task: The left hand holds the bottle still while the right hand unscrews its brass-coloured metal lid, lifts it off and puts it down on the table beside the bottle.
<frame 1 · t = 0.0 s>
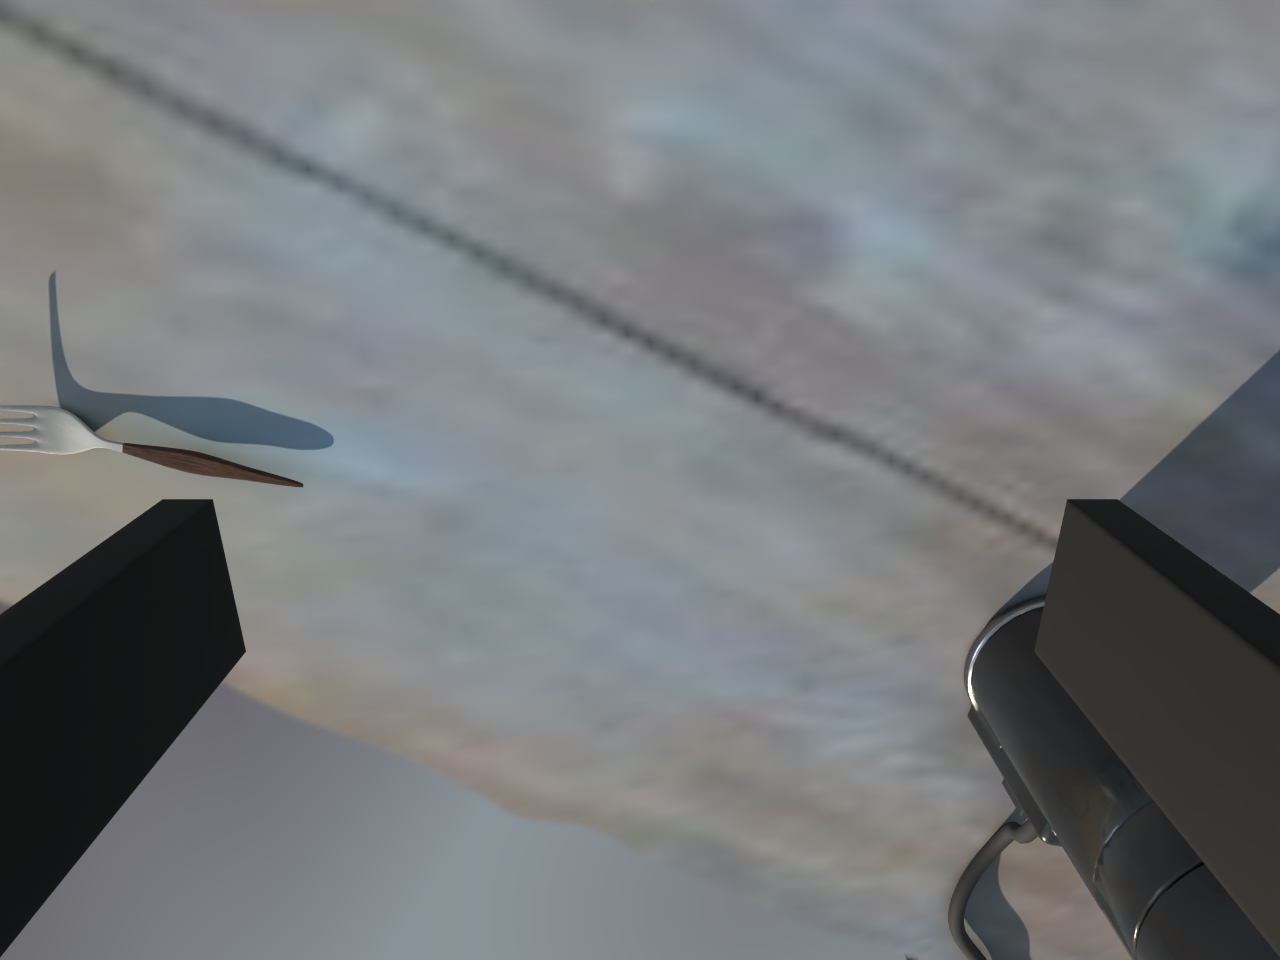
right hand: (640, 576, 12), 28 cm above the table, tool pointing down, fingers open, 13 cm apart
fork: (154, 448, 41), on the table
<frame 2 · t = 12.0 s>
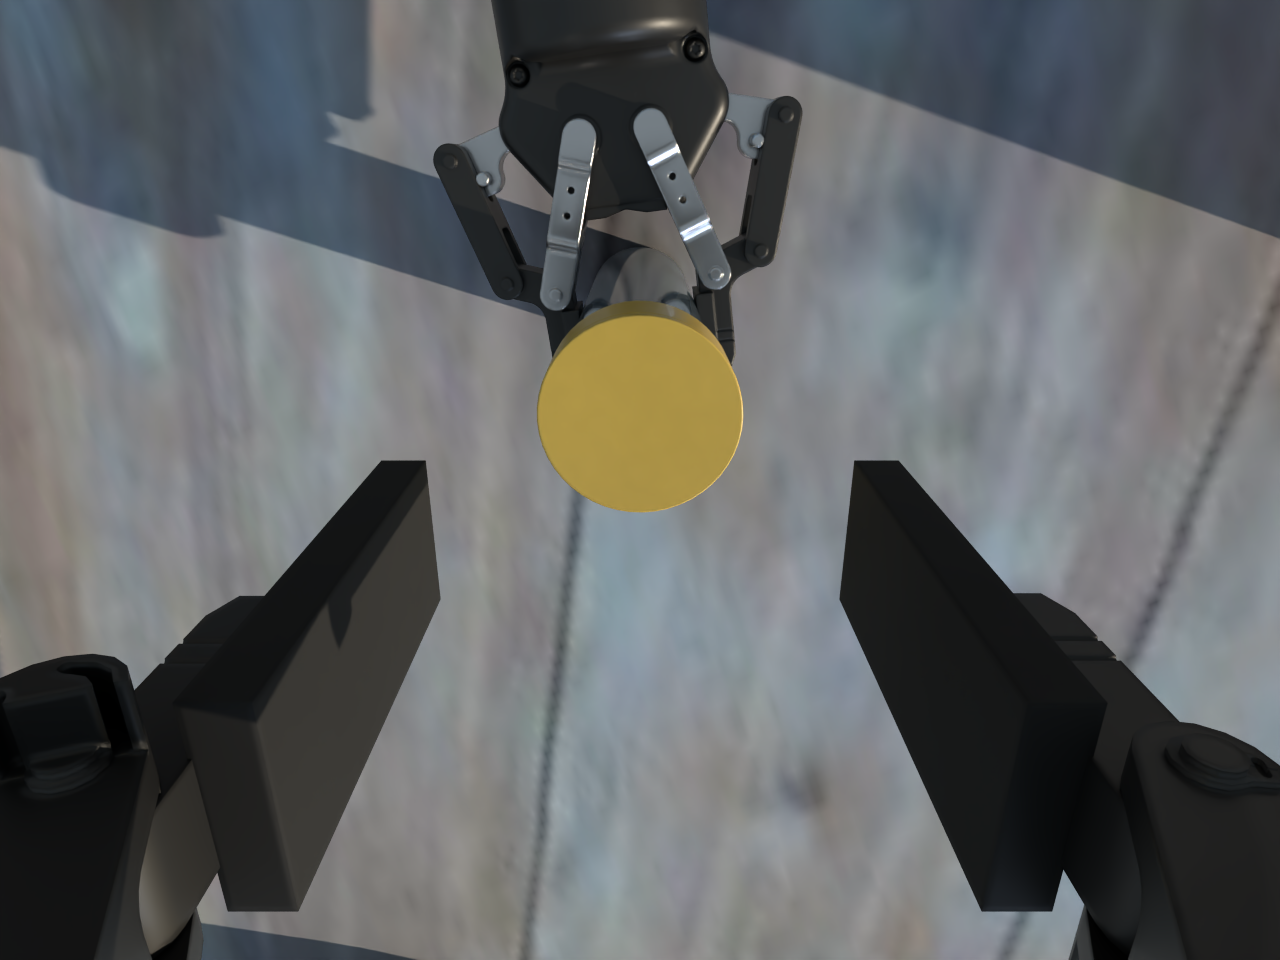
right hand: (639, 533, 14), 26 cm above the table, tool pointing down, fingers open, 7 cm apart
left hand: (648, 384, 33), fingers closed on bottle, 4 cm apart
bottle: (640, 296, 38), on the table, touching left hand
lid: (640, 414, 21), point 19 cm above the table, screwed on, not yet turned
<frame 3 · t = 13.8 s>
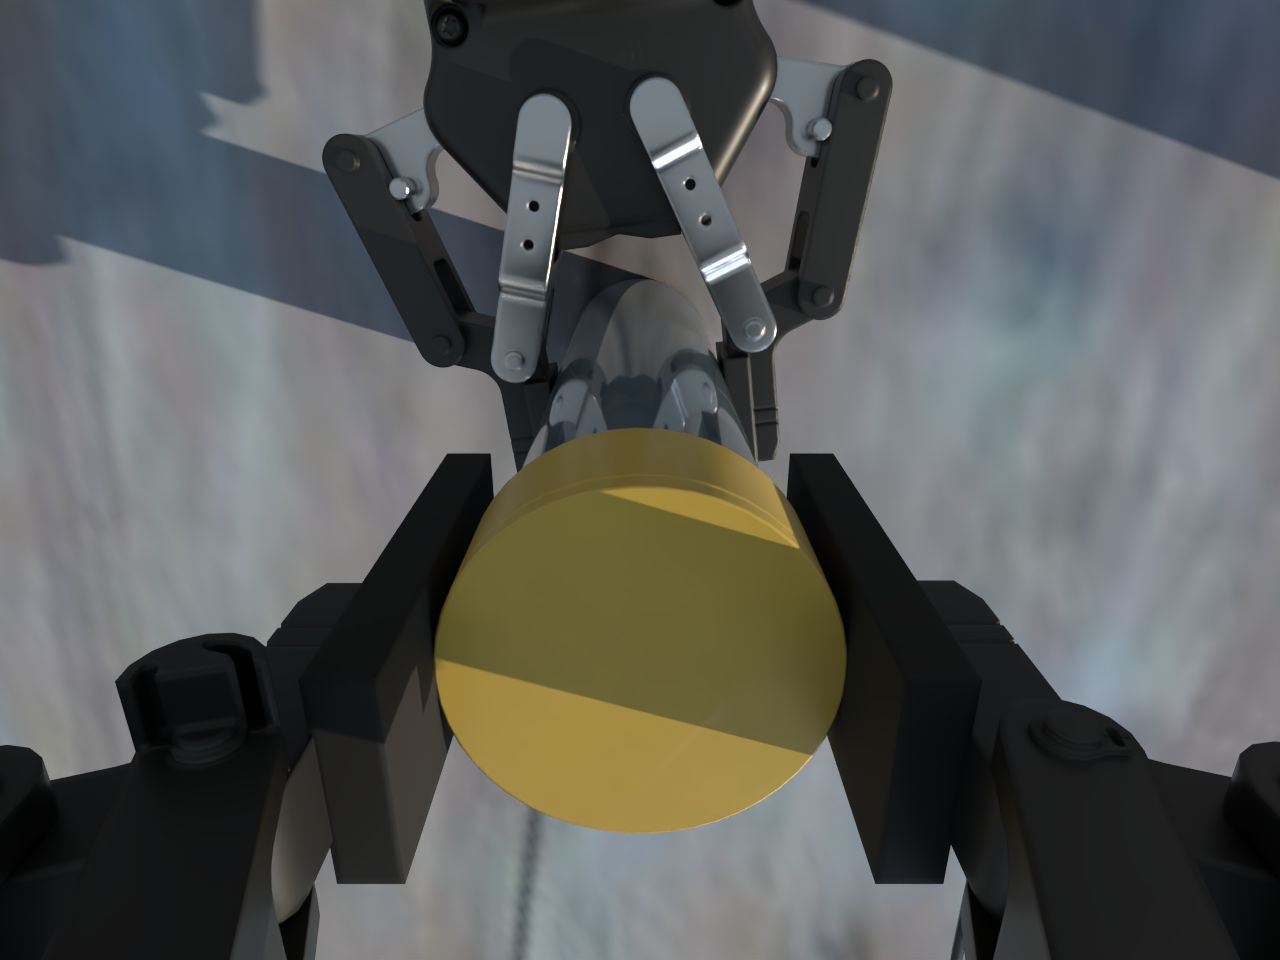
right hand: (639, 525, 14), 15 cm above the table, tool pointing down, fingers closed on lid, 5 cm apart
left hand: (652, 481, 23), fingers closed on bottle, 4 cm apart
bottle: (640, 345, 28), on the table, touching left hand
lid: (640, 661, 10), point 19 cm above the table, screwed on, not yet turned, touching right hand
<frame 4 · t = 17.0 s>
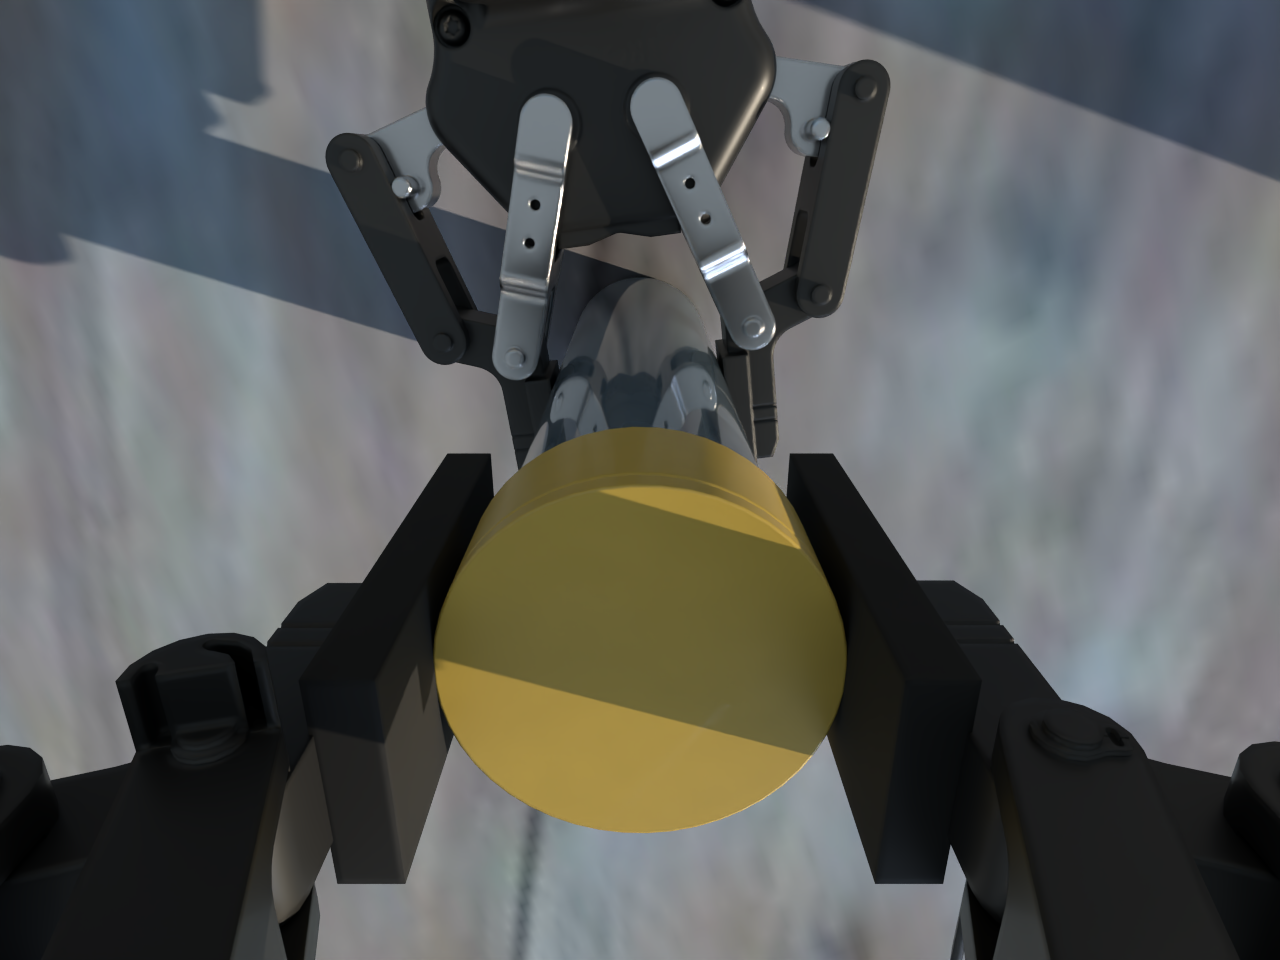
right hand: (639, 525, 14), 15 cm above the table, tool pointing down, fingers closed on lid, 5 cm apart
left hand: (652, 478, 23), fingers closed on bottle, 4 cm apart
bottle: (640, 343, 28), on the table, touching left hand
lid: (640, 660, 10), point 19 cm above the table, turned 76° so far, risen 0.2 cm, still on its thread, touching right hand
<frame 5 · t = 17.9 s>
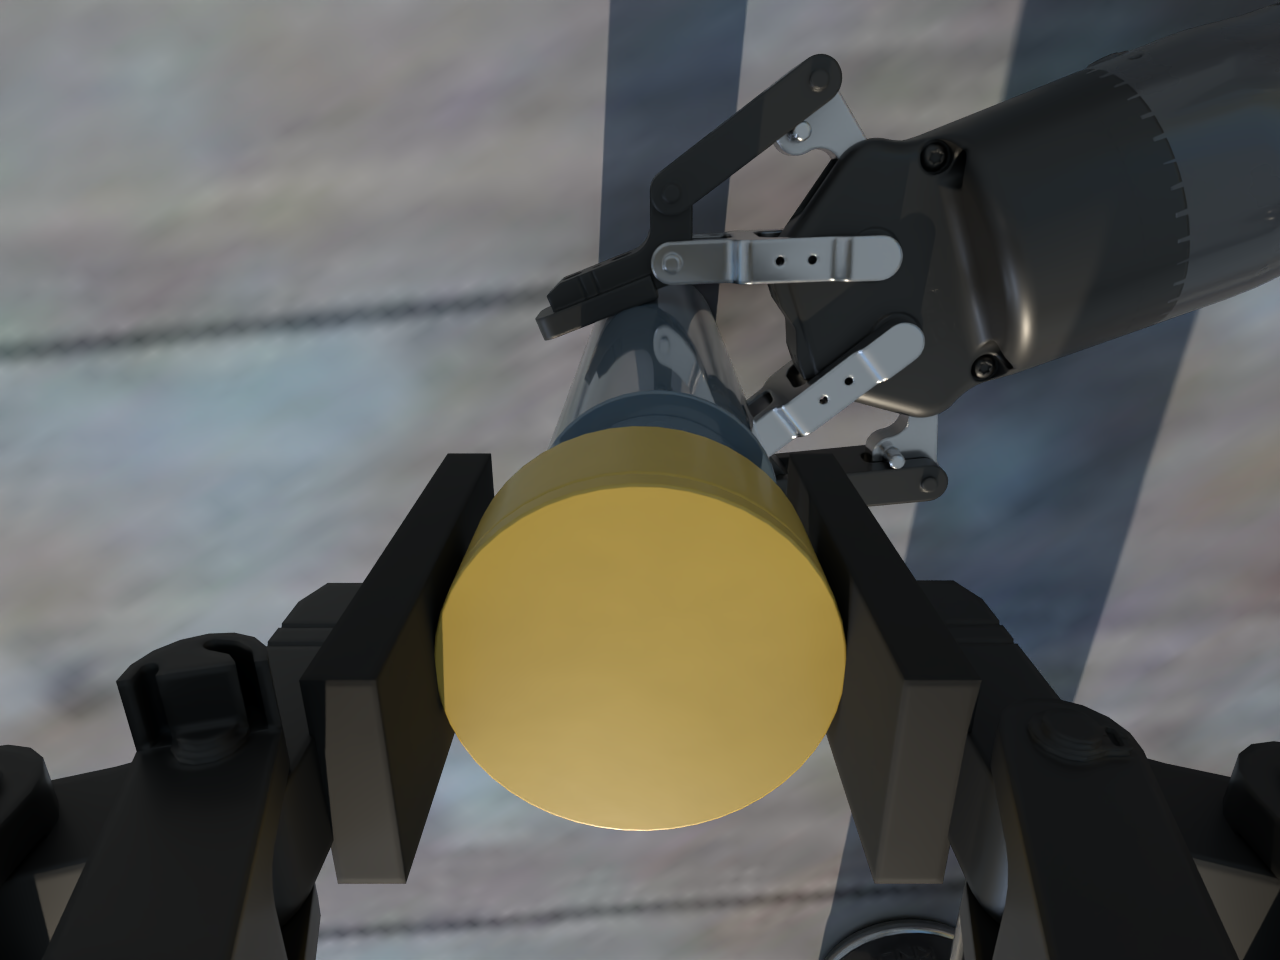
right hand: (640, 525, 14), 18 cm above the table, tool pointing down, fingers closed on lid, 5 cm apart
left hand: (578, 402, 25), fingers closed on bottle, 4 cm apart
bottle: (654, 332, 31), on the table, touching left hand
lid: (640, 658, 10), point 22 cm above the table, off its thread, touching right hand
when the right hand's fingers open (0 cm above the table, at t = 22.3 s): lid drops 2 cm, point 2 cm above the table.
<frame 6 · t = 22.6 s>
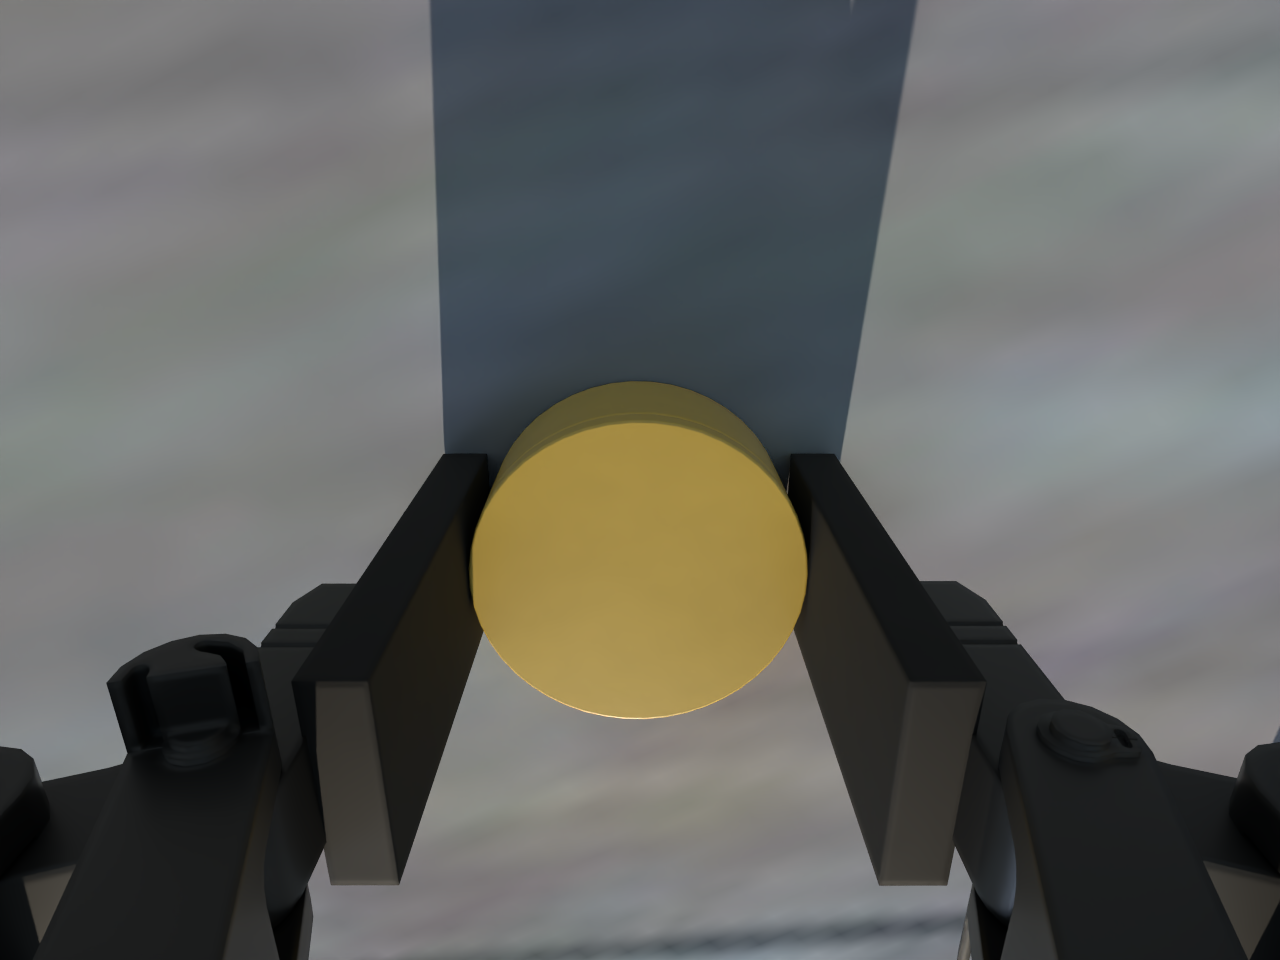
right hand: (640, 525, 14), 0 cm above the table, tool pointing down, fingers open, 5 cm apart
lid: (638, 571, 13), point 2 cm above the table, off its thread
when the left hand's fingers open (6 cm above the table, at t = 23.9 s): bottle stays where it is, on the table.
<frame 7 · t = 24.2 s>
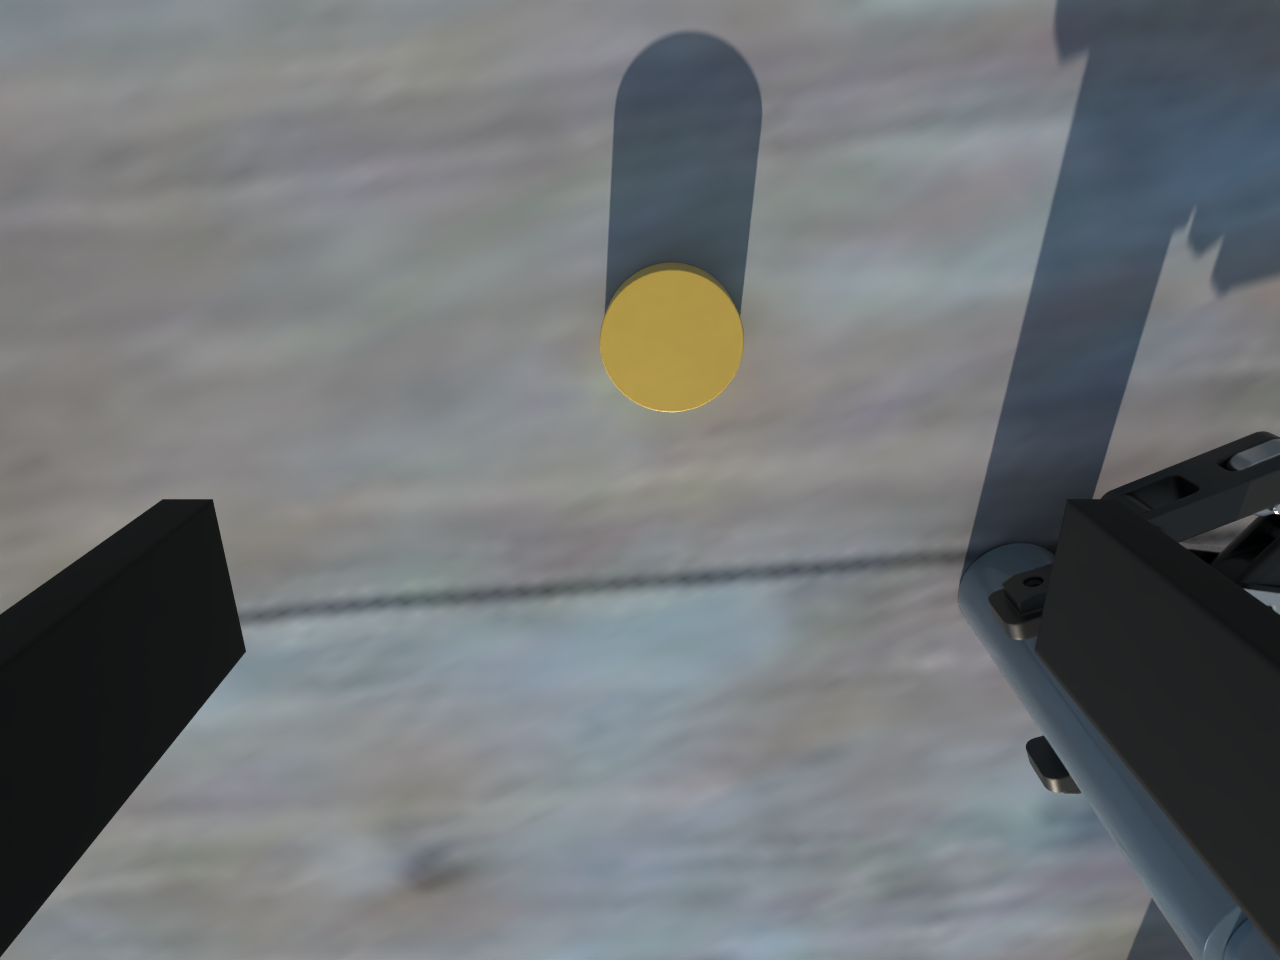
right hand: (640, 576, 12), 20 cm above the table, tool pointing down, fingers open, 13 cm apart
bottle: (1011, 590, 35), on the table
lid: (671, 341, 29), point 2 cm above the table, off its thread
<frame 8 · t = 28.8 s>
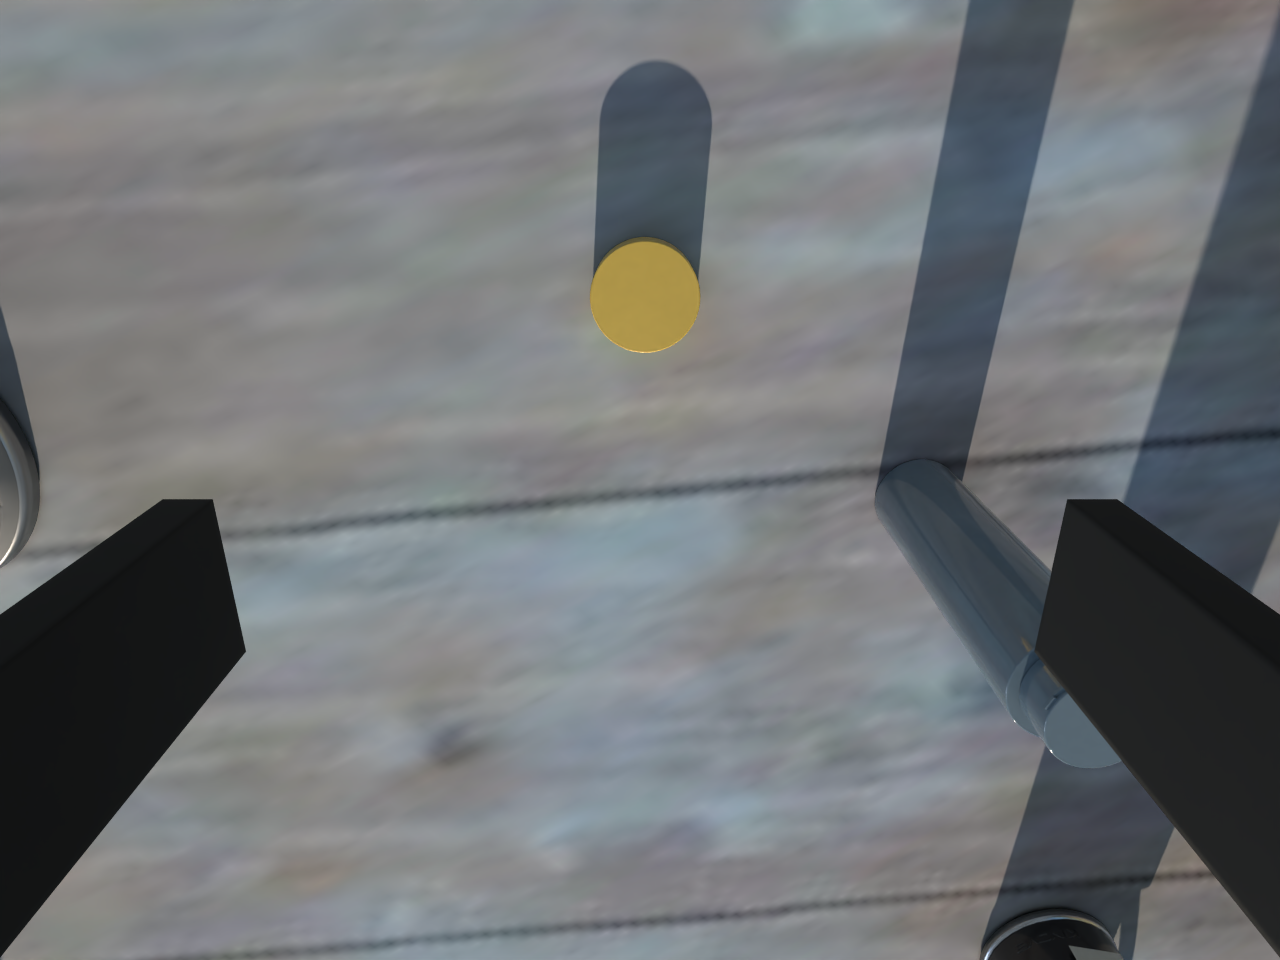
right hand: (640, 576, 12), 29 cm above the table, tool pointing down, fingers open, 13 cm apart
bottle: (916, 498, 44), on the table
lid: (645, 297, 38), point 2 cm above the table, off its thread
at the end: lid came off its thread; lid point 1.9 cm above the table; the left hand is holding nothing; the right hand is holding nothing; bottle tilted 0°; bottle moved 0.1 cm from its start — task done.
